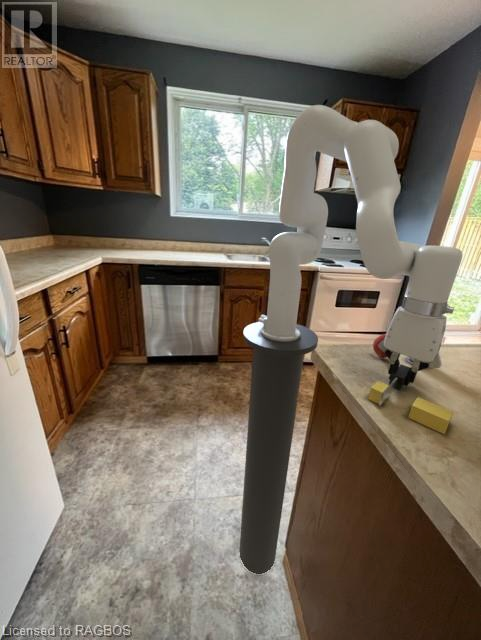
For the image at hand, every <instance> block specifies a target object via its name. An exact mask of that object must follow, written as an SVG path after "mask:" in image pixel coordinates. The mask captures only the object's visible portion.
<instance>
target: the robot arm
mask: <svg viewBox="0 0 481 640" xmlns="http://www.w3.org/2000/svg"><path fill="white" fill-rule="evenodd" d="M285 140H286V141H285V146H284V147H285V148H284V167H283V168H284V169H283V178H282V184H281V190H280V191H281V192H280V200H279V206H278V207H279V208H278V219H279V221H280V222H281V224H282V225H284V226H286V227H289V228H296V231H285V232H281V233H279V234H277V235H275V236H274V237H273V238H272V240H271V241H270V244H269V247H268V256H269V285H268V301H267V311H266V315H265V314H261V315H260V316H259V318H258V321H257V322H261V323H263V324H264V326H263V327H262V328H261V334H262V335H263V336H264V337H266V338H268V339H271V340H274V341H281V342H289V341H294V340H297V339H298V338H299V337H300V332H299V330H298V329H296V324H297V322H298V321H297V320H298V313H299V305H300V298H301V292H302V291H301V289H302V273H301V267H300V266H301V265H307V264H312V263H313V262H315V261H316V260H317V259H318V258H319V256H320V254H321V252H322V248H323V244H324V239H325V234H326V229H327V228H326V227H327V222H328V217H329V207H328V202H327V201H326V199H325V198H324V196H322V195H320V194H319V193H316V192H315V185H316V179H317V161H316V153H317V152H319V153H321V154H323V155H326V156H329V157H331V158H334V159H337V160H340V161H341V162H344V163H347V167H348V170H349V174H350V177H351V181H352V185H353V188H354V189H353V190H354V193H355V198H356V201H357V210H356V220H355V221H356V222H355V223H356V224H355V235H356V240H357V245H358V248H359V252H360V255H361V259H362V262H363V264H364V267H365V268H366V270H367V272H368V273H369V274H370V275H371V276H373V277H374V278H376V279H381V280H387V279H393V278H395V277H402V276H403V277H404V276H408V277H409V279H408V282H407V287H406V290H405V293H404V297H403V300H402V303H401V306H398V307H397V309H396V311H395V312H394V314H393V317H392V319H391V321H390V324H389V326H388V329H387V330H386V333H387V334H386V333H385V334H386V337H385V338H384V339H383V340H382V341H381V342H380V343H379V344H378V347H379V348H380V349H381V350H382V351H383V352H385V354H386V356H387V357H386V358H387V359H388V362H389V368H388V371H387V374H388V375H389V376H388V380H390V378H391V375H392V373H393V372H394V371H395V370H396V369H397V368H398V367H399V366H400V365H401V362H400V357H401V355H403V356H406V357H407V358H408V357H411V358H414V361H413V365H412V364H411V367H410V369H409V370H408V373H407V377H406V380H405V383H404V385H405V386H404V387H408V386H409V385H410V384H414V382H415V381H416V377H417V375H418V372H420V371H423V370H426V369H440V368H441V367H442V365H443V363H442V359H441V355H440V350H441V346H442V345H443V340H444V336H445V331H446V327H447V319H448V318H447V315H448V314H450V315H453V313H454V311H455V307H453V306H451V305H449V304H448V303H449V302H448V301H449V297H450V295H451V292H452V289H453V286H454V284H455V280H456V277H457V275H458V272H459V268H460V266H461V263H462V260H463V251H462V250H461V249H459V248H457V247H452V246H444V245H443V246H442V245H430V244H429V245H424V244H418V243H414V242H411V241H405V240H399V235H398V232H397V228H396V223H395V217H394V208H395V203H396V201H397V199H398V197H399V195H400V194H401V190H402V189H401V188H402V187H401V186H402V185H401V181H400V178H399V174H398V170H397V166H396V162H395V159H396V158H397V156H398V153H399V148H400V142H399V138H398V136H397V134H396V133H395V132H394V131H393V129H391V128H389V127H388V126H387V125H385V124H383V123H382V122H381V121H378V120H376V119H365V120H361V121H359V122H358V121H354V120H352V119H350V118H349V117H346V116H345V115H343V114H341V113H340V112H338V111H337V110H335V109H334V108H331V107H329V106H327V105H324V104H323V105H322V104H314V105H311V106H308V107H306V108H305V109H303V110H302V111H301V112H300V113H299V114H298V115H297V116H296V118H295V119H294V120H293V122H292V124H291V125H290V127H289V130H288V132H287V135H286V139H285ZM445 314H447V315H445ZM422 361H424V362H422Z"/></svg>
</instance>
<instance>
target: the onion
mask: <svg viewBox="0 0 481 640" xmlns="http://www.w3.org/2000/svg"><path fill="white" fill-rule="evenodd" d="M386 334H387V332H386V333H383V334H381V335H379V336H377V337H376V338H375V339H374V341H373V343H372V349H373V351H374V353H375V354H376V356H378V357H379V358H380V359H386V358H388V357H387V356H386V354H385V352H383V351H382V350H381V349H380V348H379V347H378V344H379V343H380V342H381V341H382V340H383V339H384V338H385V337H386Z"/></svg>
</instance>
